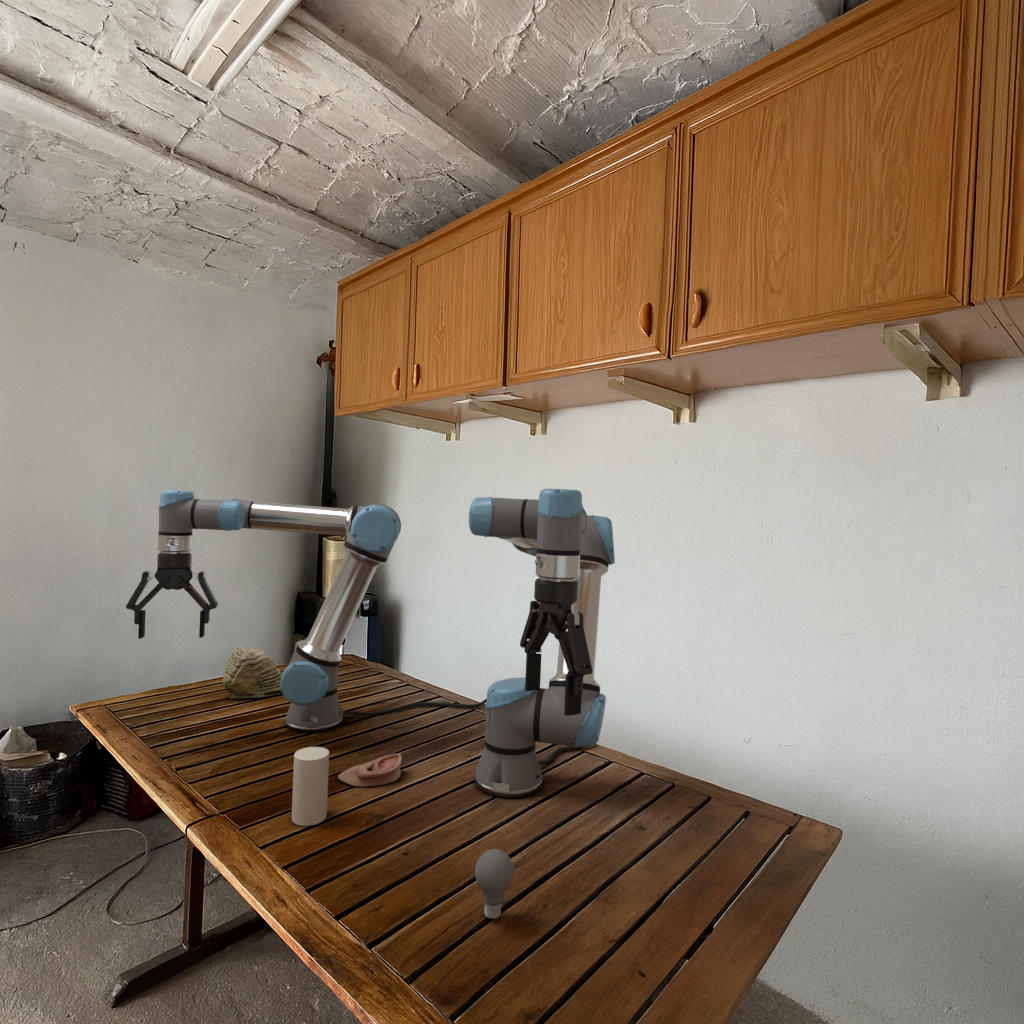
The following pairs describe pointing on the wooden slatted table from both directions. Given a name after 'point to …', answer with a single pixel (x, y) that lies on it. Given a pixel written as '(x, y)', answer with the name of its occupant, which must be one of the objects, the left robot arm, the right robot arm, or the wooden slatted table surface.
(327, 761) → the cylinder
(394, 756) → the anatomical model
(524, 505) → the right robot arm
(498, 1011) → the wooden slatted table surface
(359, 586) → the left robot arm
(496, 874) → the light bulb
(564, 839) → the wooden slatted table surface
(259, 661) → the fossil
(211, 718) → the wooden slatted table surface
